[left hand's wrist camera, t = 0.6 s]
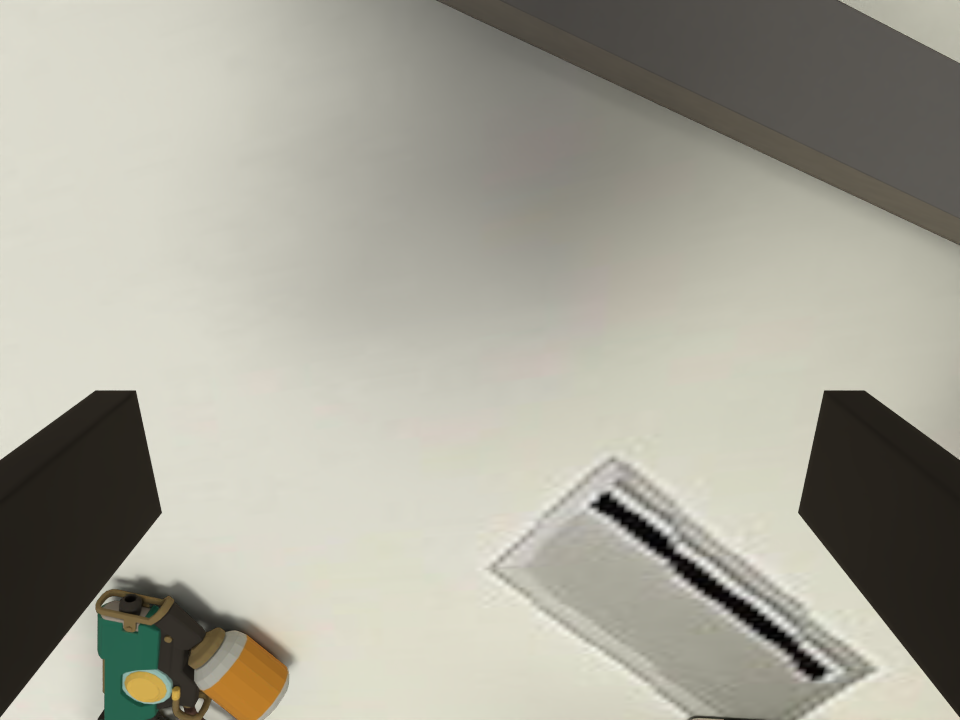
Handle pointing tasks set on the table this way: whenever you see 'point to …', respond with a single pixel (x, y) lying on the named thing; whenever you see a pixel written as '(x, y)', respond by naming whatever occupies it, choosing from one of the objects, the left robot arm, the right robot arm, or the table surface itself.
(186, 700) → the spray gun
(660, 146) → the table surface
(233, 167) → the table surface
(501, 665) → the table surface
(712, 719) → the tablet stand
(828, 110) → the beam
